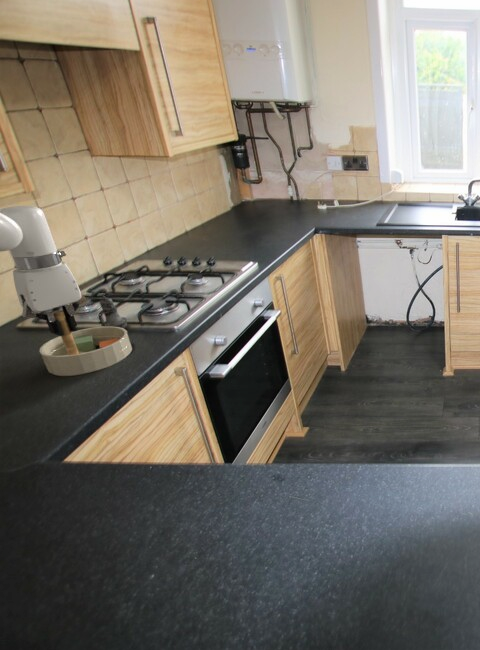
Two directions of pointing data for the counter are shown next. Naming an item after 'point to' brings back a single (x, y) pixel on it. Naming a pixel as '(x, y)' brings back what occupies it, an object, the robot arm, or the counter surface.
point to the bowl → (89, 361)
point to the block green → (85, 344)
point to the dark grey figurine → (112, 314)
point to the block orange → (107, 342)
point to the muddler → (66, 333)
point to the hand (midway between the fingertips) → (65, 332)
